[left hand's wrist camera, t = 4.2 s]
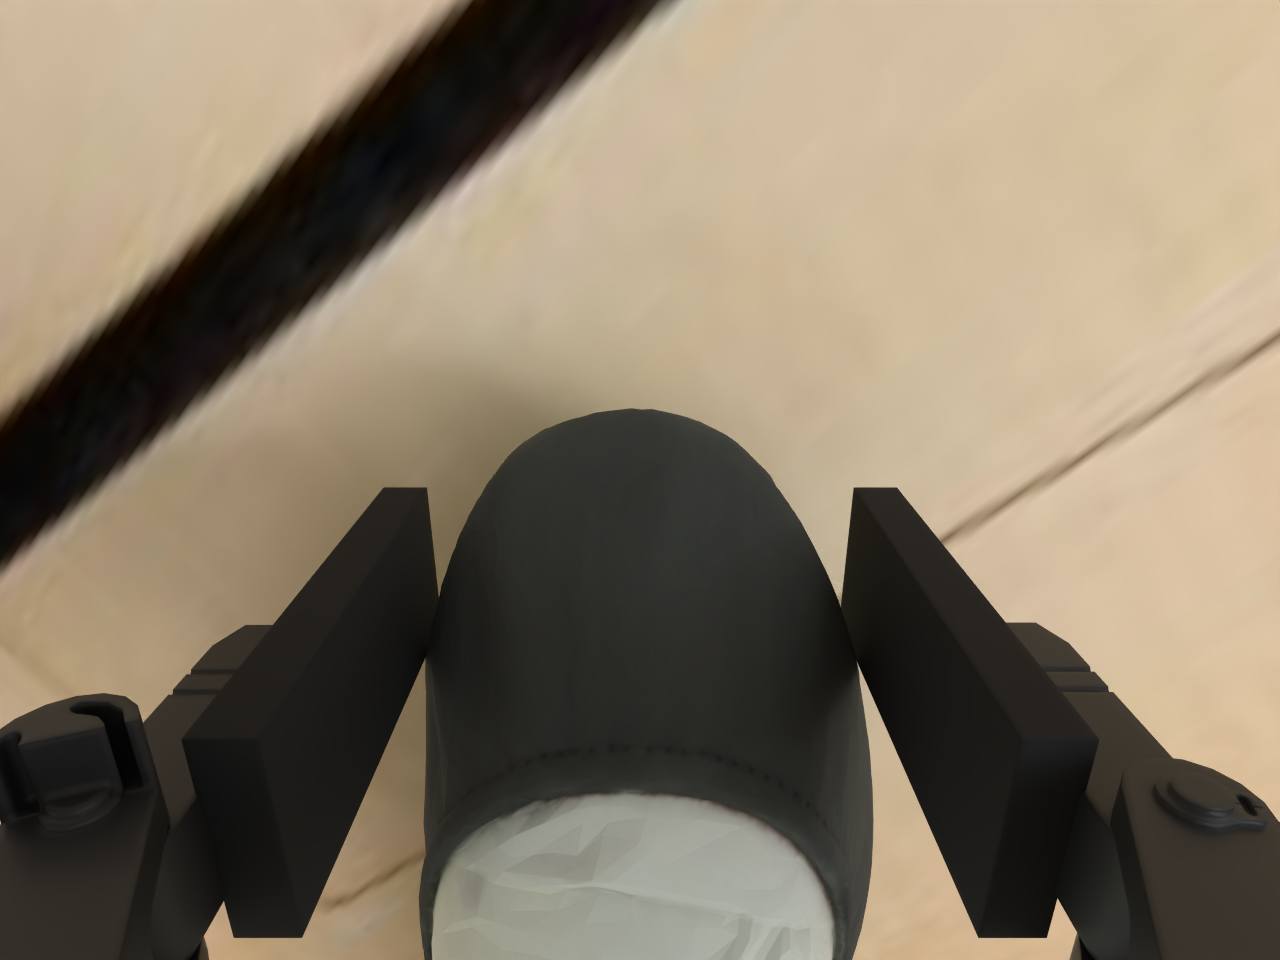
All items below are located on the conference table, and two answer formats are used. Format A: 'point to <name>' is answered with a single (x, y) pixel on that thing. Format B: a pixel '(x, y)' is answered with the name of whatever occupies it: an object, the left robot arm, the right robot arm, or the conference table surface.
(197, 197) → the conference table surface
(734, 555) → the ballet flat
